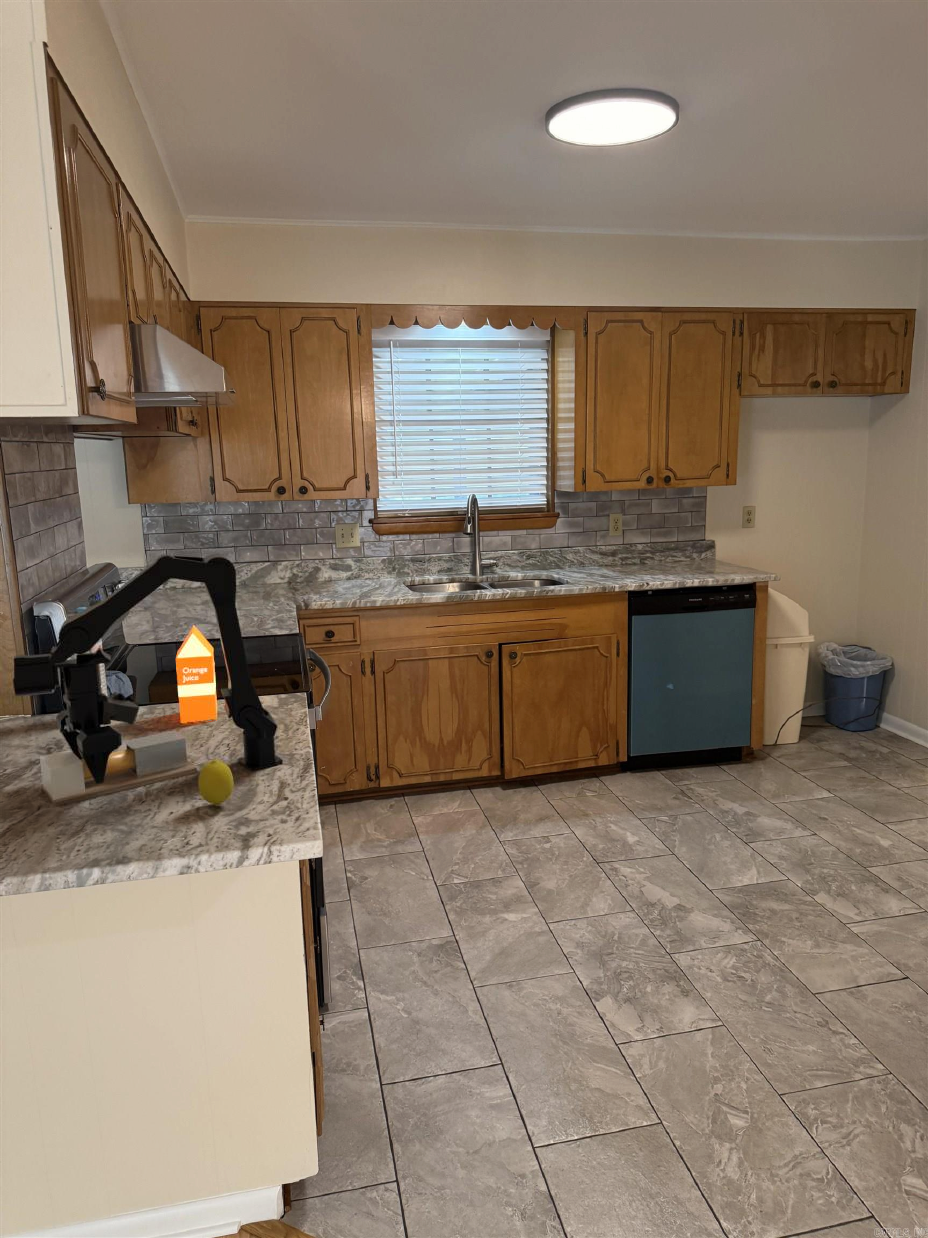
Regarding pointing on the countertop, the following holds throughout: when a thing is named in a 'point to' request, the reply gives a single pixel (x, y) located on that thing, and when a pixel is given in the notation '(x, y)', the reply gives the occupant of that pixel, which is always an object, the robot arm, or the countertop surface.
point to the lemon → (215, 782)
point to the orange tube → (115, 763)
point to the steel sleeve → (158, 753)
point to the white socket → (62, 774)
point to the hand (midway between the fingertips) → (92, 775)
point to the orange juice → (196, 679)
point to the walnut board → (121, 783)
